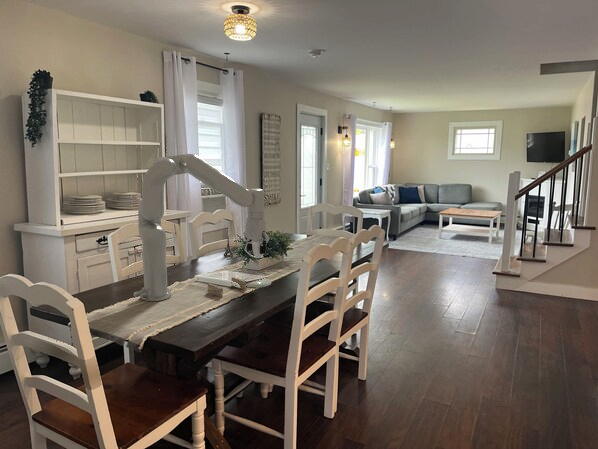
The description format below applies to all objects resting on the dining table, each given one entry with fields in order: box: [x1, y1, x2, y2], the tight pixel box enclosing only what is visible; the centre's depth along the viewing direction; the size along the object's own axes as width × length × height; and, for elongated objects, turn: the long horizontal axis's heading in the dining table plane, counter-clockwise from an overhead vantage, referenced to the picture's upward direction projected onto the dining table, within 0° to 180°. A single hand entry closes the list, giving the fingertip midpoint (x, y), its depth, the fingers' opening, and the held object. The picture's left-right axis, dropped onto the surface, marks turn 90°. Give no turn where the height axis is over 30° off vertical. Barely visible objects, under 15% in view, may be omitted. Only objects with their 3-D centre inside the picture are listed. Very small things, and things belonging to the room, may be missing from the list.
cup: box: [244, 240, 264, 259], centre depth 213 cm, size 7×10×8 cm
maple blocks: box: [207, 276, 247, 298], centre depth 204 cm, size 15×9×4 cm, turn 138°
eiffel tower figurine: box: [223, 236, 238, 261], centre depth 266 cm, size 15×10×13 cm
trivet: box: [246, 277, 272, 289], centre depth 216 cm, size 14×14×1 cm
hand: (256, 251), depth 214 cm, fingers closed on cup, 8 cm apart
